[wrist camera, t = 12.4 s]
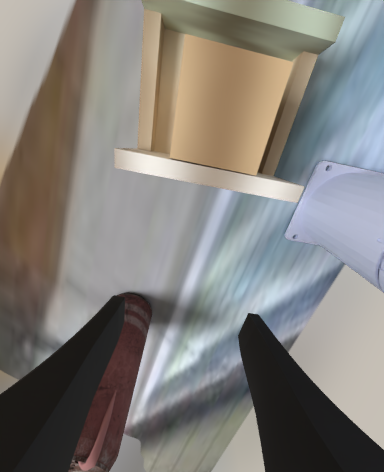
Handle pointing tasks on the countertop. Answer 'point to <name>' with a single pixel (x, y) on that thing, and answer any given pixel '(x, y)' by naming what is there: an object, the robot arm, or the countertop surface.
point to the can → (114, 393)
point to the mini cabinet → (226, 104)
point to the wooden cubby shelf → (234, 34)
